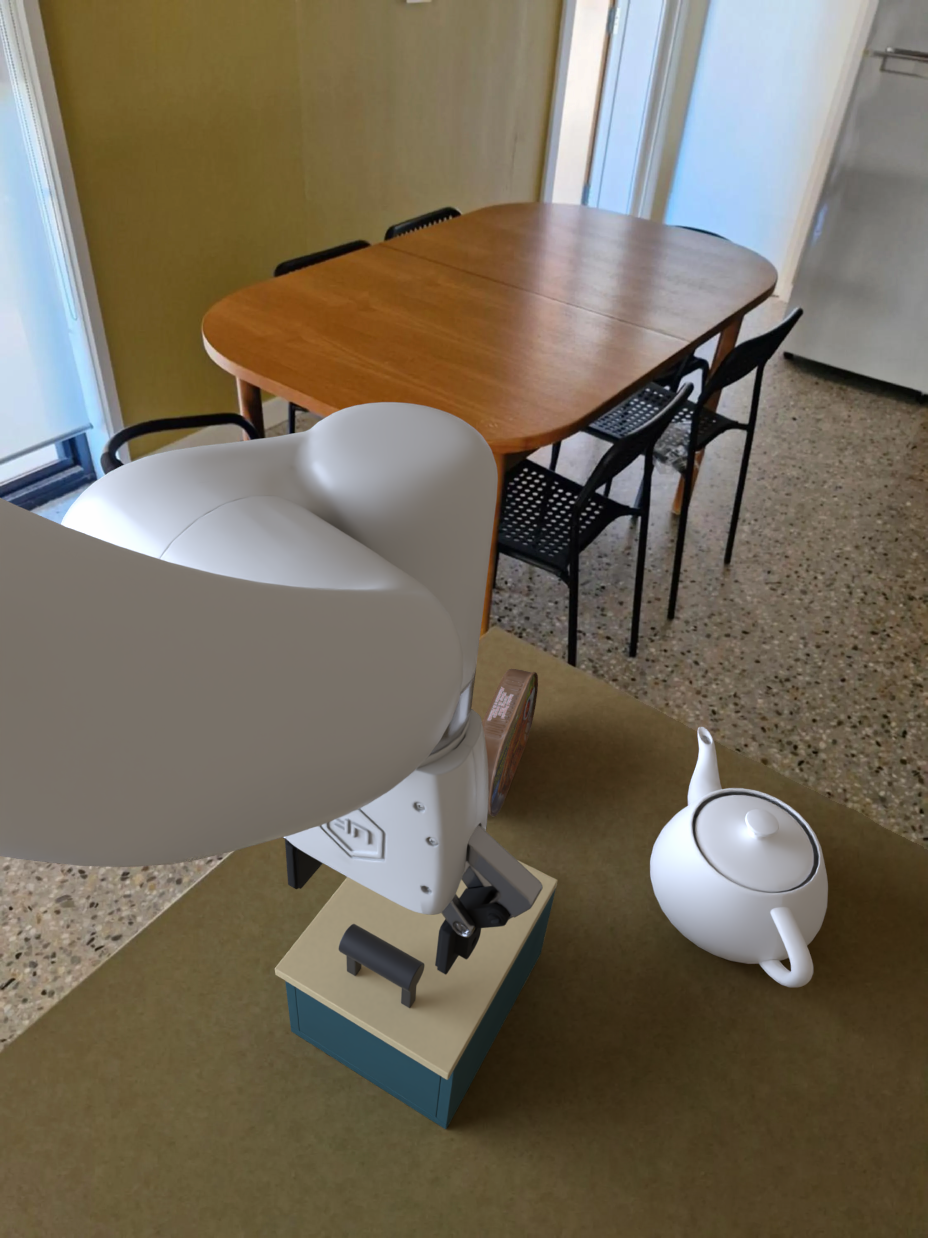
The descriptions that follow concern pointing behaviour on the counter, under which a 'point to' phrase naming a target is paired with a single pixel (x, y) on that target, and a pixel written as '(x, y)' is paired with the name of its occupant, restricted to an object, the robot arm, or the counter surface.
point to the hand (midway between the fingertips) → (379, 909)
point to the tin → (508, 731)
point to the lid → (404, 970)
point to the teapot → (741, 874)
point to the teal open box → (396, 1067)
